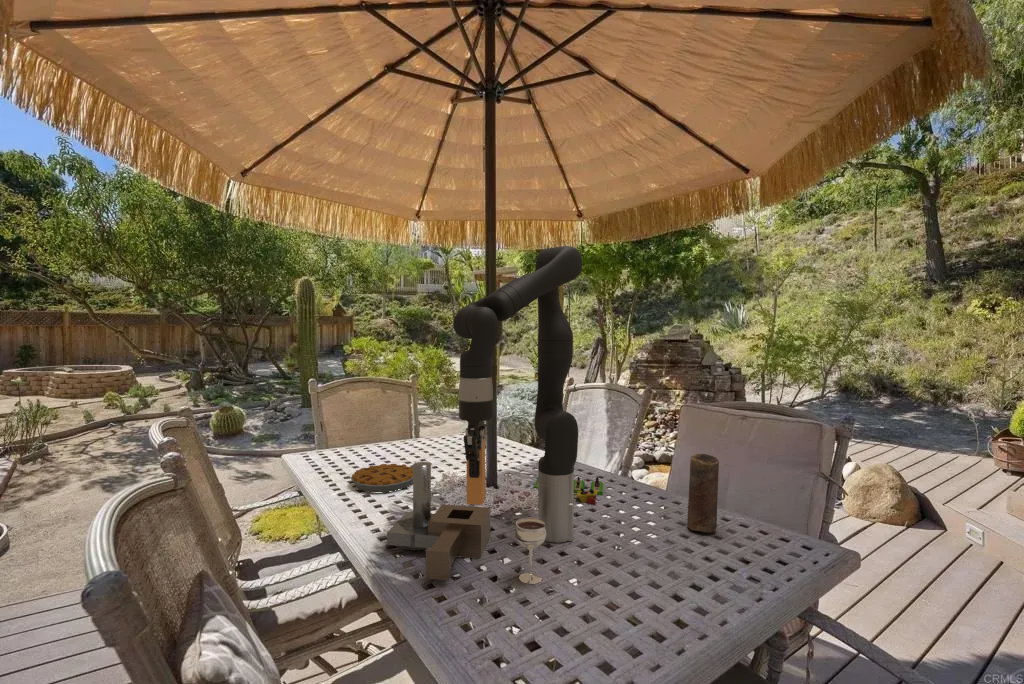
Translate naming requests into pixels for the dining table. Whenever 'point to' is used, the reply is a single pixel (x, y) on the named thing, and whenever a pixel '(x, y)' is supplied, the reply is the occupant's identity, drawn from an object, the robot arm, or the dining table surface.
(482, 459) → the orange rectangular block
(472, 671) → the dining table surface
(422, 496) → the metal peg stand
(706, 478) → the candle
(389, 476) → the pie
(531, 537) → the wineglass
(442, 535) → the bracket
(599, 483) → the toy garden set
